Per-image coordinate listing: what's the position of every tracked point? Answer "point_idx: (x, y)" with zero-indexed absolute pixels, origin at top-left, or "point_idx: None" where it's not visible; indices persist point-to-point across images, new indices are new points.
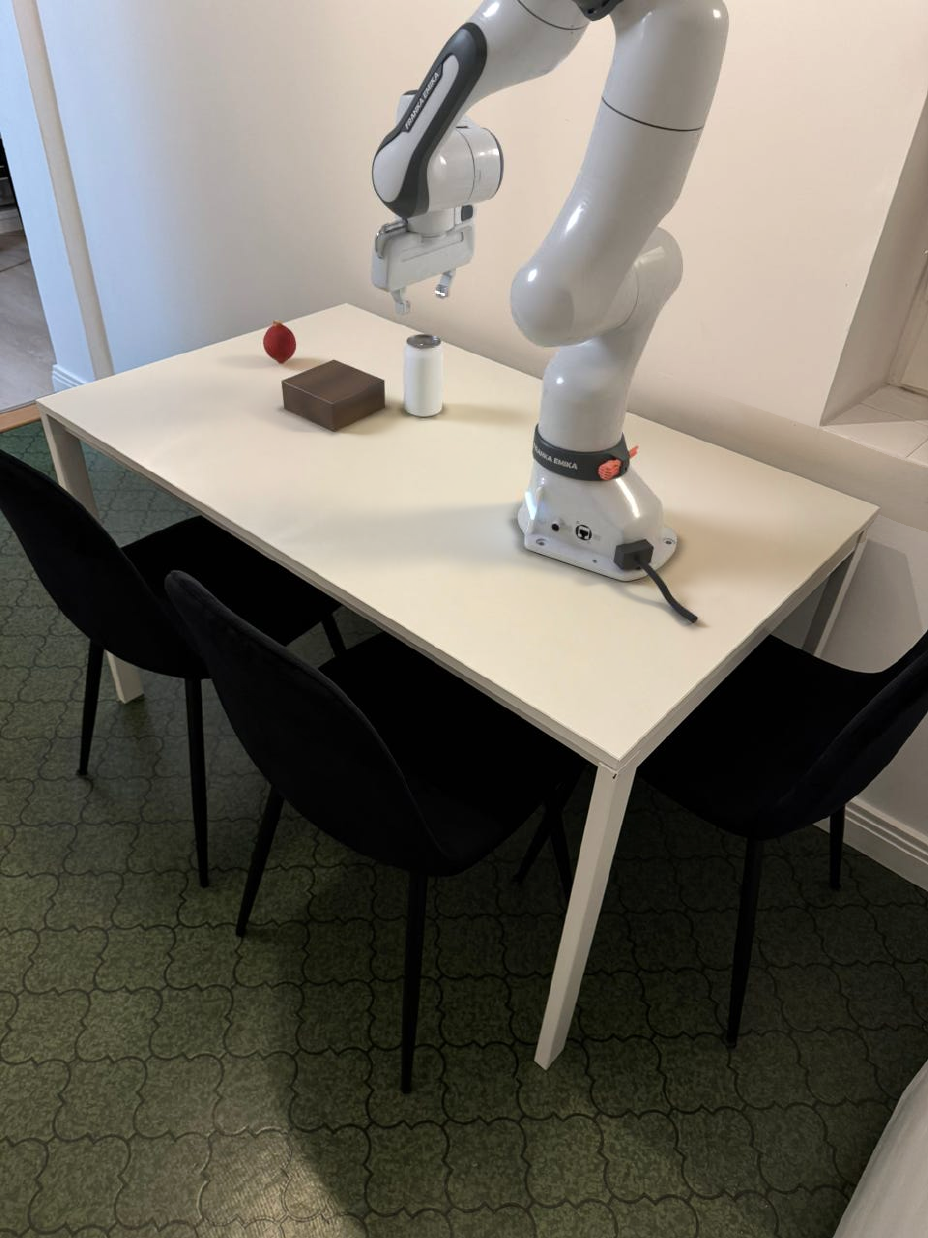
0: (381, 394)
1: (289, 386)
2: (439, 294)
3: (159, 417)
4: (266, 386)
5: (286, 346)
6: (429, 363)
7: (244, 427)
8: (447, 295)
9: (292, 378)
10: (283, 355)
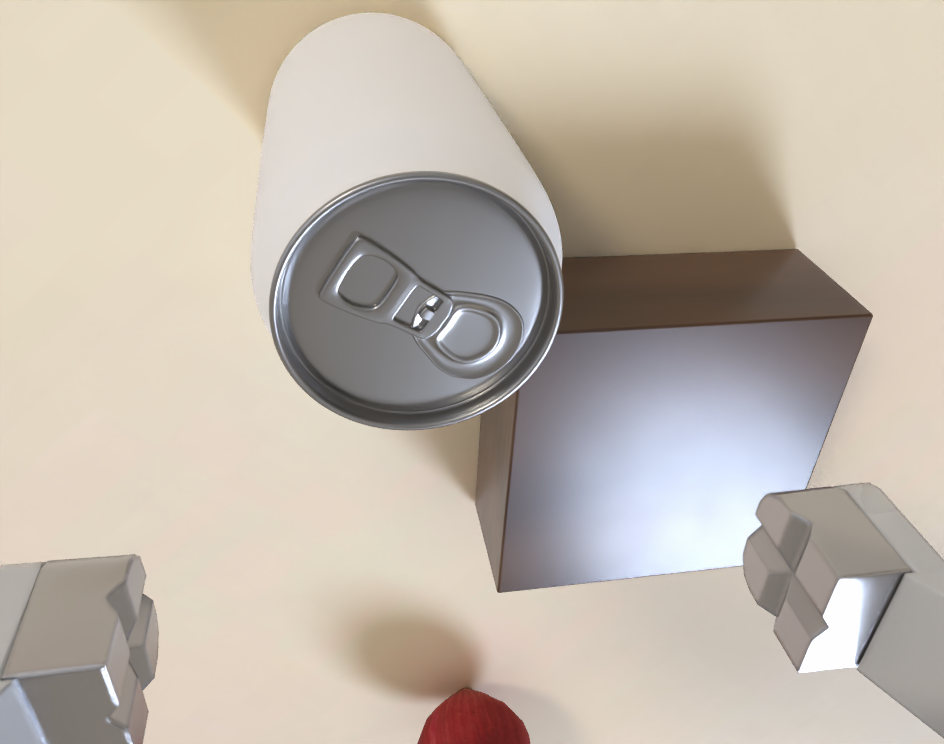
0: None
1: None
2: (142, 628)
3: None
4: (624, 608)
5: (494, 732)
6: (489, 129)
7: (895, 460)
8: (48, 571)
9: (740, 555)
10: (498, 705)
